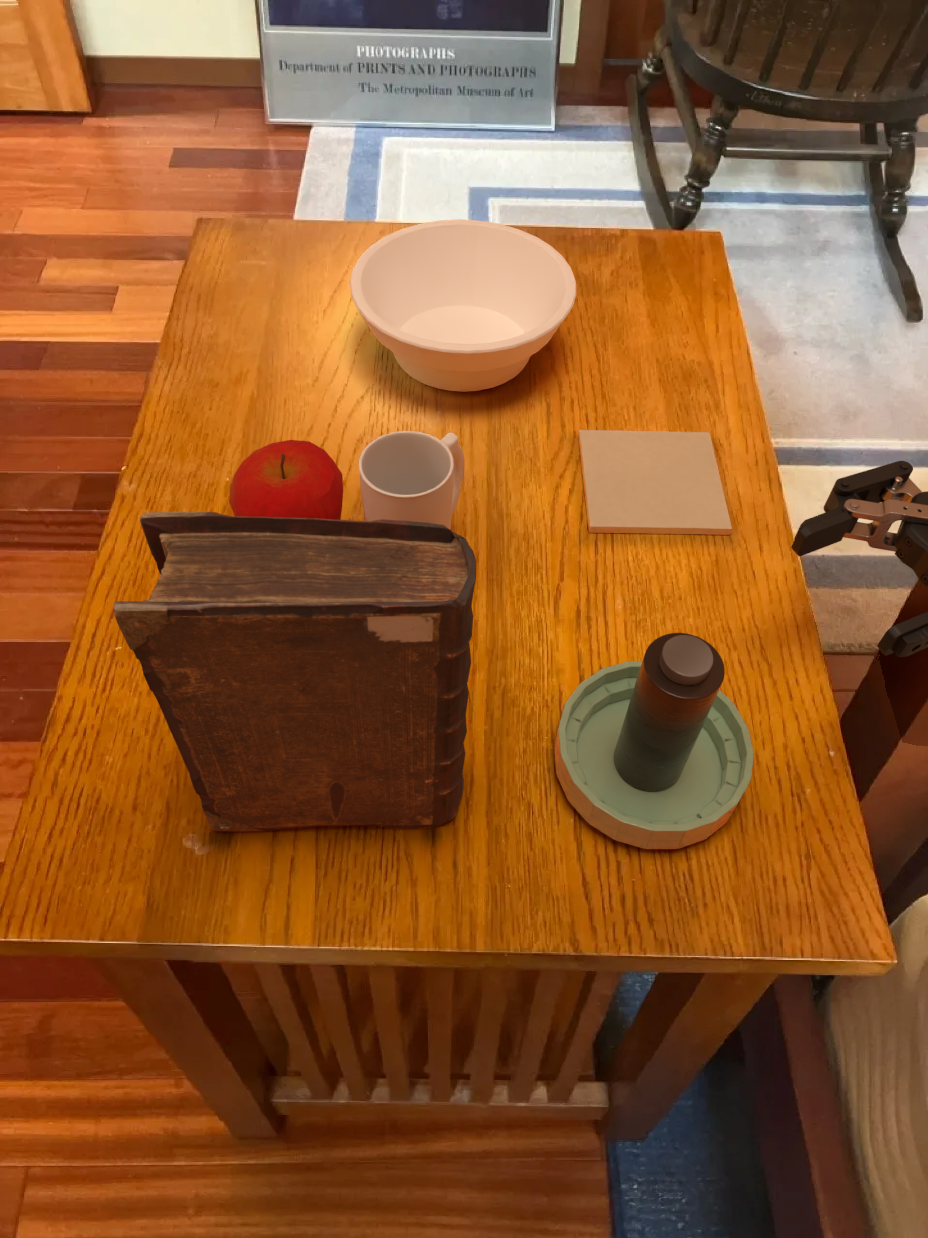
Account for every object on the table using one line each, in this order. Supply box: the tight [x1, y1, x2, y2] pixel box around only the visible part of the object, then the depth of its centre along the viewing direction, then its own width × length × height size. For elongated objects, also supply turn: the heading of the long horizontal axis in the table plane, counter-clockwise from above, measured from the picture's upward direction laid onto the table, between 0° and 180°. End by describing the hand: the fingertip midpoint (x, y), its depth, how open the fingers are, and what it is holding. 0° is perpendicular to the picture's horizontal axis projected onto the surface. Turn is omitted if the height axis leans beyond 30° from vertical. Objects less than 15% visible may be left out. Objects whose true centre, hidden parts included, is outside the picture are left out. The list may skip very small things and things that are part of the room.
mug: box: [358, 430, 465, 530], centre depth 71 cm, size 10×7×12 cm, turn 142°
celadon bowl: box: [553, 660, 755, 850], centre depth 64 cm, size 13×13×4 cm
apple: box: [228, 439, 344, 520], centre depth 71 cm, size 9×8×12 cm
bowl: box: [349, 218, 577, 392], centre depth 89 cm, size 21×21×8 cm
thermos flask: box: [614, 632, 726, 792], centre depth 60 cm, size 5×5×13 cm
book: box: [113, 511, 477, 832], centre depth 53 cm, size 17×7×25 cm, turn 85°
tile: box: [577, 429, 733, 536], centre depth 82 cm, size 12×12×1 cm
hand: (840, 591), depth 57 cm, fingers open, 8 cm apart
